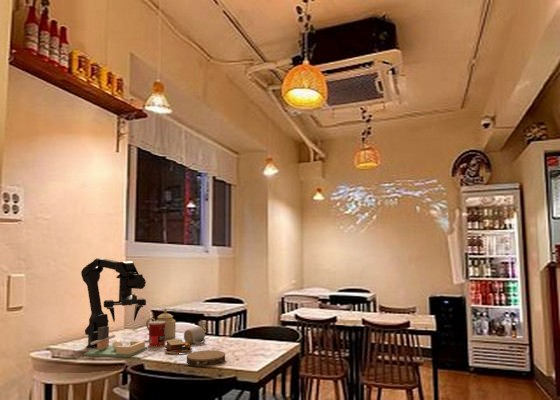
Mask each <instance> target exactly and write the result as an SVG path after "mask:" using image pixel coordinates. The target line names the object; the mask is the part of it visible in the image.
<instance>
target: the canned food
mask: <svg viewBox="0 0 560 400" xmlns="http://www.w3.org/2000/svg"><path fill="white" fill-rule="evenodd" d="M148 326H149V330H148V345H149V346H150V347H161V346H160V345H162V346H165V345H166V339H165V321H156V320H155V321H153V320H152V321H149V322H148Z"/></svg>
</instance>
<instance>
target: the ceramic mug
mask: <svg viewBox="0 0 560 400" xmlns="http://www.w3.org/2000/svg"><path fill="white" fill-rule="evenodd" d="M205 336H206V335H205V331H204V328H203V327H202V326H199V325H198V326H195V327H192V328H191V327H190V328H188V329H186V330H185V331H184V334H183V339H184V343H185V342H187V343H188V344H190V345H193V344H194V345H198V346H202V345H204V344H205V342H206V340H205V339H206V338H205Z"/></svg>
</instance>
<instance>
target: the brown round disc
mask: <svg viewBox="0 0 560 400" xmlns="http://www.w3.org/2000/svg"><path fill="white" fill-rule="evenodd" d="M225 361H226V352H224V351H222V350H213V349H211V350H209V349H208V350H198V351H197V350H196V351H193V352H189V353H187V355H186V363H188V364H187V365H190V366H192V367H193V366H194V367H212V366H216V365H221V364H223V363H225Z"/></svg>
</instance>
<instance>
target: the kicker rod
mask: <svg viewBox="0 0 560 400" xmlns="http://www.w3.org/2000/svg"><path fill="white" fill-rule="evenodd" d="M109 330H110V326H109V325H108V326H103V327H99V328H98V339H99V340H96V341H93V342H91V343H90V344H91V345H94V344H97V348H96V349H97V350H102V349H105V348H108V347H109V346H110V345H109V344H110V340H111V339H114V338H115V337H116V335H115V334H112V335H110V333H109V332H110V331H109Z"/></svg>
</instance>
